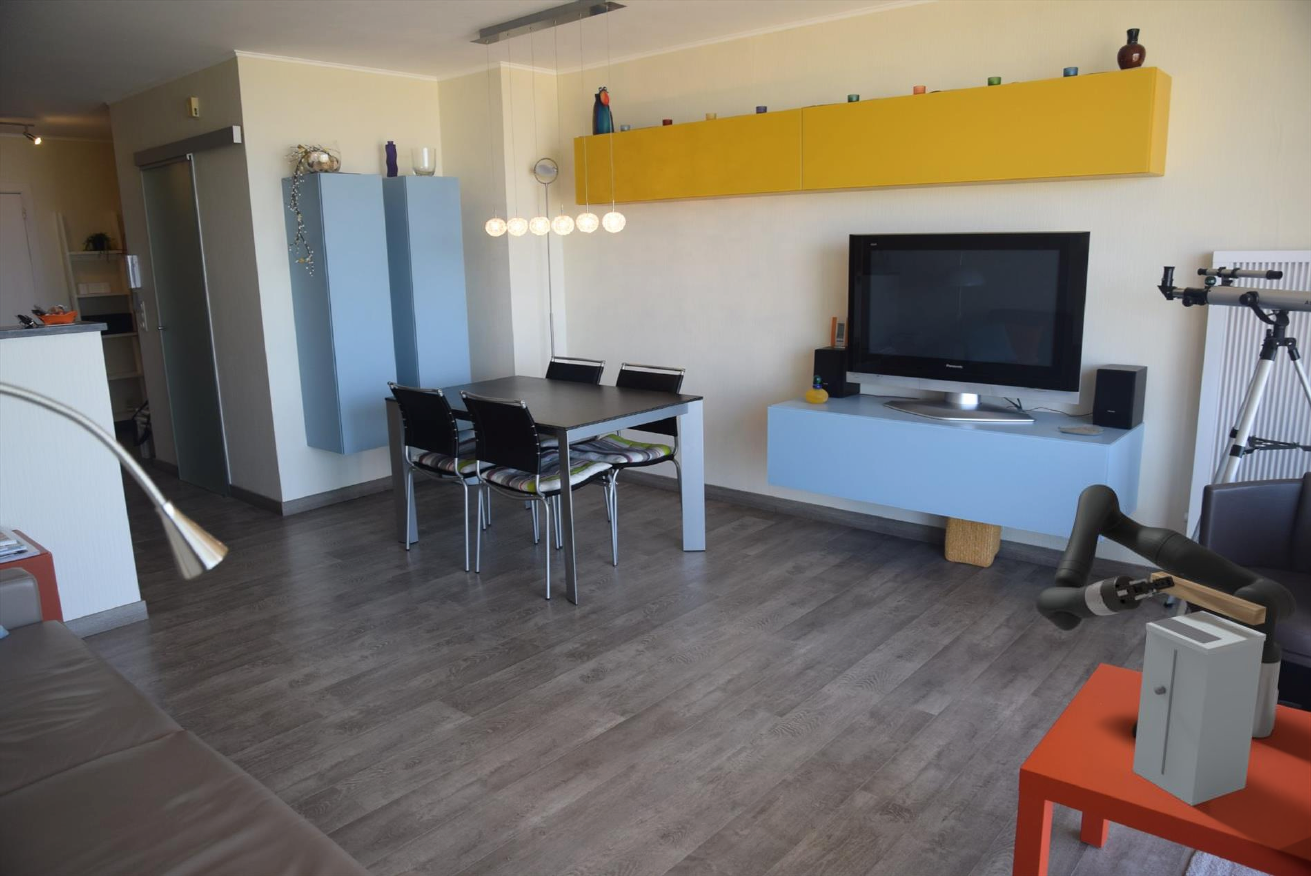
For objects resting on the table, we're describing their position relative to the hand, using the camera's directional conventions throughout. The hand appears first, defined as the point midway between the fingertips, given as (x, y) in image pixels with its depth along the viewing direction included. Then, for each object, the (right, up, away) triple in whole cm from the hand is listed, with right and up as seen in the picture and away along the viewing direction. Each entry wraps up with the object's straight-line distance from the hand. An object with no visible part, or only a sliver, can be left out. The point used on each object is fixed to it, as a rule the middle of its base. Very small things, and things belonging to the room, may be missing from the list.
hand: (1177, 579), depth 185 cm
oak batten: (+2, -4, -5) cm, 7 cm away
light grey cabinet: (0, -39, -3) cm, 39 cm away
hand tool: (+4, -35, +19) cm, 41 cm away
